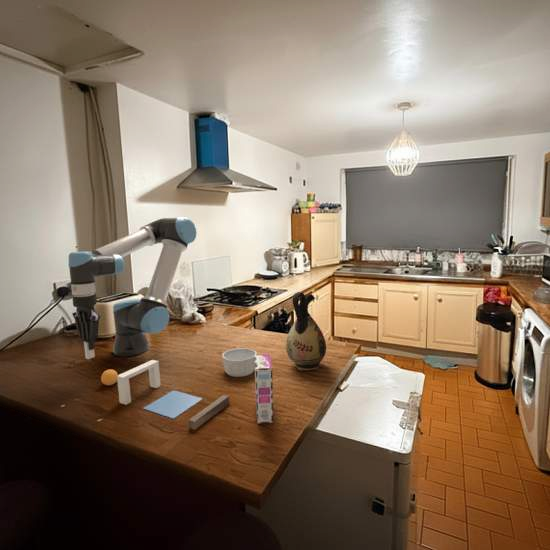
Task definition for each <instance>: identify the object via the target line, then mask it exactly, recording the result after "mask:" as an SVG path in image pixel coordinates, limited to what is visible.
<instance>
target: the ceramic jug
mask: <svg viewBox="0 0 550 550" xmlns="http://www.w3.org/2000/svg"><path fill="white" fill-rule="evenodd" d="M314 300H315V295H313V294H311V293H308V294H304V293H303V292H300V291H298V292H295V293H294V294H293V295H292V305H293V310H294V312H295V317H296V318H295V319H296V320H295V321H294V323H293V324H292V326H291V328H290V330H289V331H288V334H287V337H286V342H285V343H286V345H285V349H286V353H287V356H288V357H289V359H290V360H291V362H292V363H294V366H295V367H296V369H297V370H299V371H314V370H317V369H319V368H320V367H321V365H320V363H321V362H322V360H324V358H325V356H326V352H327V343H326V338H325V336H324V334H323V331H322V329H321V328H320V326H319V325H318V323H317V322H316V321H315V320H314V318H313V317H312V316H311V314H310V313H309V310H308V309H309V305H310V304H311V303H312V302H313V301H314Z"/></svg>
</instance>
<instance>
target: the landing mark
mask: <svg viewBox="0 0 550 550" xmlns="http://www.w3.org/2000/svg"><path fill="white" fill-rule="evenodd" d="M203 399H204V398H202V397H198V396H195V395H192V394H188V393H185V392H182V391H178V390H174V389H173V390H172V391H170V392H168V393H166V394H164V395H163V396H162V397H159V398H158V399H156V400H154V401H152V402H151V403H150V404H148V405H145V406H144V407H143V408H142V409H143V410H145V411H148V412H151V413H155V414H157V415H161V416H164V417H167V418H168V419H169V418H170V419H173V420H174V419H176V418H177V417H179V416H180V415H182V414H183V413H185V412H186V411H188V410H189V409H191V408H192V407H194V406H195V405H196V404H198V403H200V402H201V401H203Z"/></svg>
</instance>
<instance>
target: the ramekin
mask: <svg viewBox="0 0 550 550" xmlns="http://www.w3.org/2000/svg"><path fill="white" fill-rule="evenodd" d="M255 355H258V352H257V351H256V350H254V349H251V348H246V347H244V348H243V347H242V348H241V347H237V348H233V349H227V350H226V351H224V352H223V353H222V354H221V356H222V357H221V359H222V362H223V368H224V371H225V374H227V375H228V376H230V377H236V378H239V377H240V378H241V377H246V376H249V375H251V374H253V373H254V372H255Z"/></svg>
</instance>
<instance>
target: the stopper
mask: <svg viewBox="0 0 550 550" xmlns="http://www.w3.org/2000/svg"><path fill="white" fill-rule="evenodd" d="M229 404H230V396H229V395H227V394H226V395H225V394H223V395H221V396H220V397H219V398H218V399H216V400H214V401H213V402H212V403H210V404H209V405H207V406H206V407H205V408H203V409H202V410H200V411H199V412H198V413H196V414H195V415H193V416H192V417H191V418H189V419H188V427H189V429H191V430H193V431H196V430H197V429H198V428H200V427H201V426H202V425H204V424H206V422H207V421H209V420H210V419H211V418H213V417H214V416H215V415H216V414H218V413H219V412H220V411H221V410H223V409H224V408H225V407H227V406H228V405H229Z"/></svg>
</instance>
